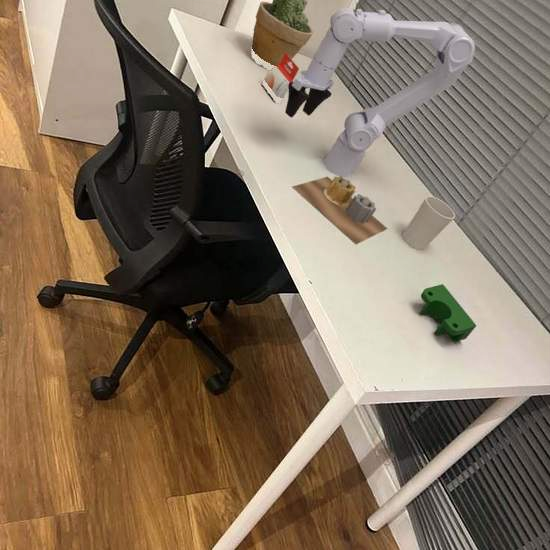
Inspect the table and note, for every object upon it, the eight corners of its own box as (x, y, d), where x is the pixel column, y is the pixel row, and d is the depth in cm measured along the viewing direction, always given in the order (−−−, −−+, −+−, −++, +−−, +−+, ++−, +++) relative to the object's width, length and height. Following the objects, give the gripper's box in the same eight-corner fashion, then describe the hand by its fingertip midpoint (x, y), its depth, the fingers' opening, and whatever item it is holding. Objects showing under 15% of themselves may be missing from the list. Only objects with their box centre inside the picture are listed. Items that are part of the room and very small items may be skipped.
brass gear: (336, 189, 134) (345, 176, 132) (351, 204, 132) (359, 191, 129) (321, 190, 130) (330, 176, 128) (336, 205, 128) (345, 192, 125)
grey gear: (353, 205, 132) (362, 192, 130) (370, 220, 130) (380, 207, 128) (342, 210, 128) (350, 196, 125) (359, 225, 126) (369, 212, 124)
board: (325, 180, 138) (336, 161, 134) (384, 232, 132) (398, 214, 129) (289, 190, 126) (300, 170, 122) (353, 248, 120) (367, 228, 117)
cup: (425, 245, 137) (455, 209, 130) (423, 261, 130) (454, 223, 123) (398, 229, 137) (426, 191, 130) (394, 243, 130) (424, 204, 123)
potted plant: (244, 41, 186) (276, -34, 171) (293, 67, 189) (328, -4, 175) (236, 58, 171) (270, -23, 157) (289, 85, 175) (328, 9, 160)
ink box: (274, 102, 159) (292, 66, 152) (260, 85, 164) (277, 49, 157) (281, 104, 161) (299, 69, 154) (268, 87, 166) (285, 52, 159)
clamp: (408, 324, 117) (415, 286, 113) (429, 317, 120) (436, 280, 116) (450, 353, 108) (458, 312, 104) (471, 345, 110) (481, 306, 106)
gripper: (328, 53, 132) (302, 103, 140) (294, 52, 121) (268, 105, 129) (349, 70, 130) (322, 119, 138) (317, 70, 119) (289, 123, 127)
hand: (297, 114), depth 134 cm, fingers open, 7 cm apart
